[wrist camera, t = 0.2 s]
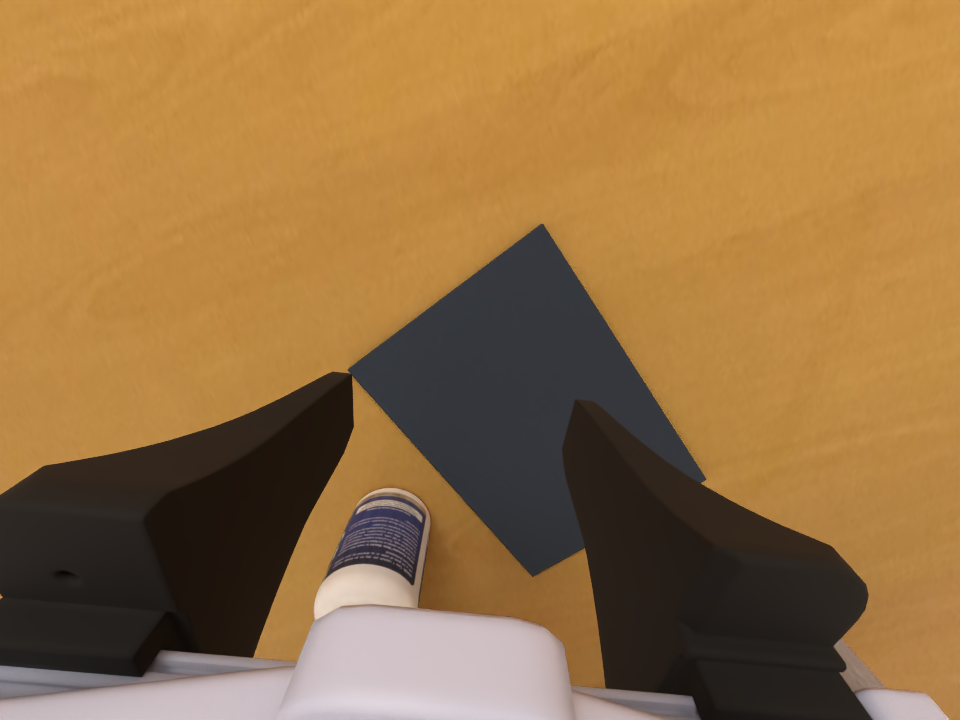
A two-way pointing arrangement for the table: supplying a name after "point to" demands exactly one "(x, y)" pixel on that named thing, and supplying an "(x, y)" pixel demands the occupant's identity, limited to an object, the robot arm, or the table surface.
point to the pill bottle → (378, 554)
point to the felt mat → (514, 394)
